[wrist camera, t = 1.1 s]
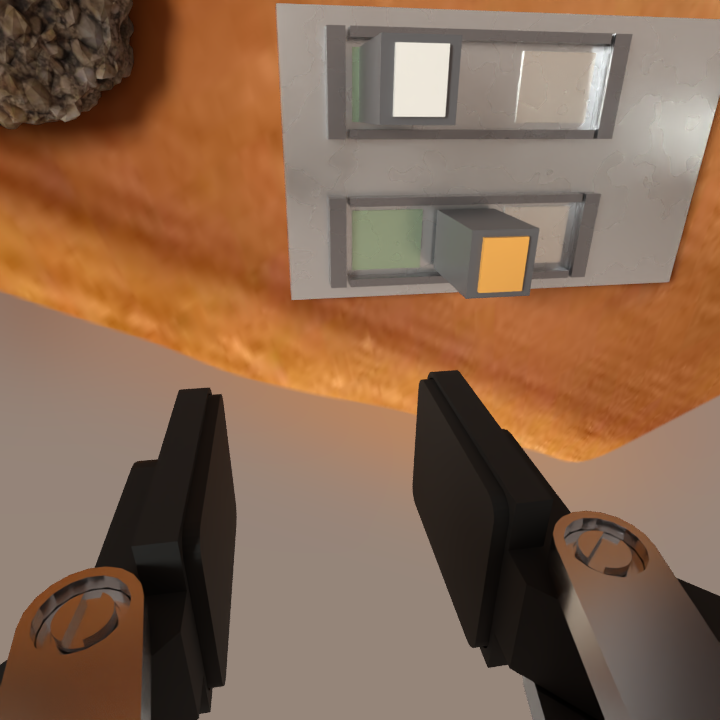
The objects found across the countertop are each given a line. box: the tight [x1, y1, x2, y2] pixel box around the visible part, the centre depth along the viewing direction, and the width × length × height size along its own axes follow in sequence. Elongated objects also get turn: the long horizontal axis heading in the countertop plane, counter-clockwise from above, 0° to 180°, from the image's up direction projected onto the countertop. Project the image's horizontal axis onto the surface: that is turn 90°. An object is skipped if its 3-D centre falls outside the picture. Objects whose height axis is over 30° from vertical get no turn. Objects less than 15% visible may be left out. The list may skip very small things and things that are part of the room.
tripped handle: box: [434, 208, 540, 299], centre depth 25 cm, size 3×3×5 cm
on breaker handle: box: [359, 33, 462, 125], centre depth 22 cm, size 3×3×5 cm
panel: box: [276, 3, 720, 300], centre depth 27 cm, size 22×13×2 cm, turn 90°
